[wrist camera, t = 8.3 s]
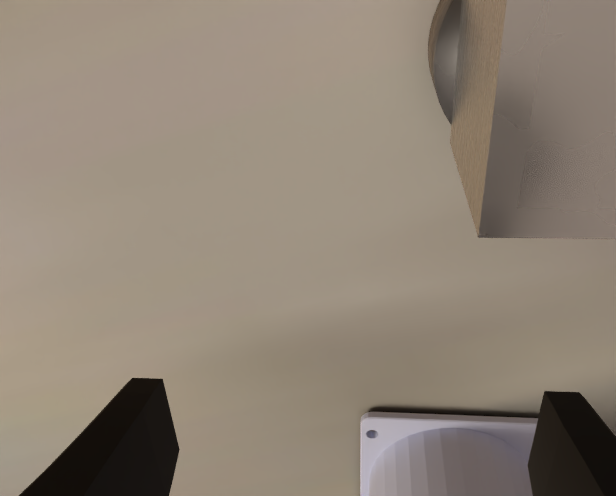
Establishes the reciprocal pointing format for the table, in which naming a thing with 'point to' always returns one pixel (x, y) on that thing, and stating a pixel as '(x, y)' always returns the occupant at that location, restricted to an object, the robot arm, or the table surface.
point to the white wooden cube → (537, 117)
